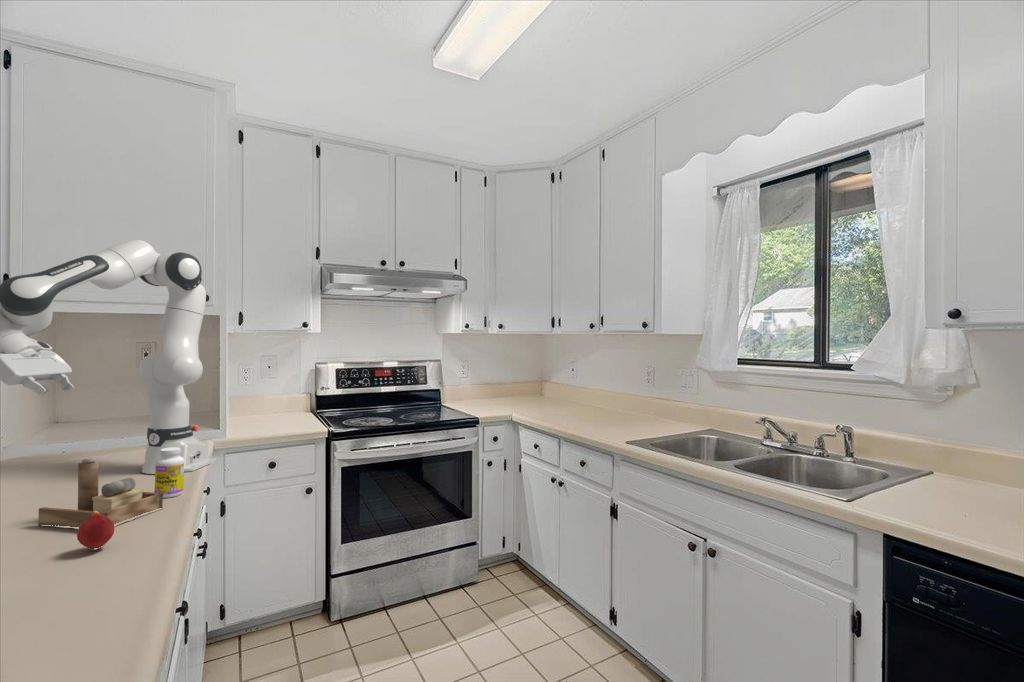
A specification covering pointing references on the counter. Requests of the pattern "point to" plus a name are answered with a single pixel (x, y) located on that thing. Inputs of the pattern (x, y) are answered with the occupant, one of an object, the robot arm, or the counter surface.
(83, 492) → the brown wooden pepper mill
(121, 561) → the counter surface
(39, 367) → the robot arm
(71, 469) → the counter surface
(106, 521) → the onion
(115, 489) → the block with grey roller
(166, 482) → the supplement bottle
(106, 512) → the bay
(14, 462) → the counter surface
